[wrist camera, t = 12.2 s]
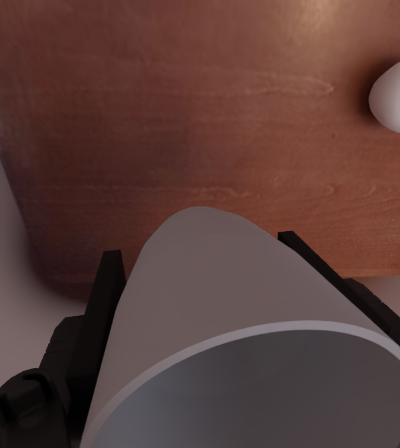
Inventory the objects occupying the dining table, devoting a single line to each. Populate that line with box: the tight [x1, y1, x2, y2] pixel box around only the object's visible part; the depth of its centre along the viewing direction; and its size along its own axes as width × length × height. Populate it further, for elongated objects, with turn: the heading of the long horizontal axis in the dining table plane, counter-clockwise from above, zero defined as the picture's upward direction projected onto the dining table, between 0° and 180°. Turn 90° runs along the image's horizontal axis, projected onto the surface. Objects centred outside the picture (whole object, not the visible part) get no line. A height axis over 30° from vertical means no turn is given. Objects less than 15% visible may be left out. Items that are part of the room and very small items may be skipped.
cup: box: [79, 206, 400, 448], centre depth 11 cm, size 8×8×10 cm
